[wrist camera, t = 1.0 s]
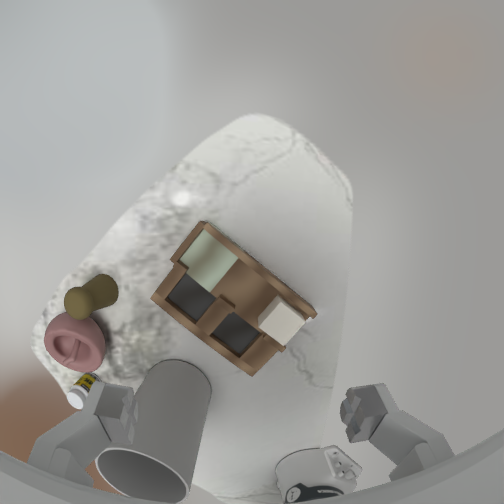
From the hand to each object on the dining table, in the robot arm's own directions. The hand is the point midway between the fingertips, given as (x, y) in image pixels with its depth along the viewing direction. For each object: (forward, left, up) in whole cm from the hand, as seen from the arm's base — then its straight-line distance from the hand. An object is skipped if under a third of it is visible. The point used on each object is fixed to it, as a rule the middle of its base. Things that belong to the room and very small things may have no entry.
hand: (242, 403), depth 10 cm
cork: (+17, +21, -38) cm, 47 cm away
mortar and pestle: (+15, +31, -38) cm, 52 cm away
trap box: (-2, +7, -38) cm, 39 cm away
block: (-9, +4, -36) cm, 38 cm away
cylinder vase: (-5, +27, -38) cm, 47 cm away
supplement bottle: (+9, +41, -39) cm, 57 cm away
